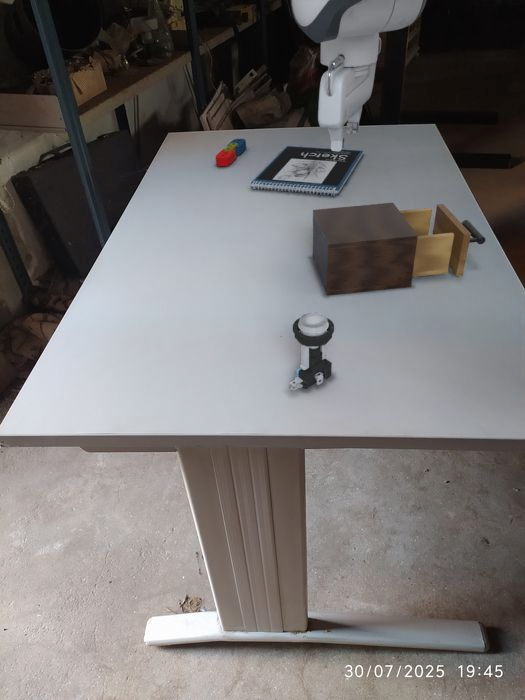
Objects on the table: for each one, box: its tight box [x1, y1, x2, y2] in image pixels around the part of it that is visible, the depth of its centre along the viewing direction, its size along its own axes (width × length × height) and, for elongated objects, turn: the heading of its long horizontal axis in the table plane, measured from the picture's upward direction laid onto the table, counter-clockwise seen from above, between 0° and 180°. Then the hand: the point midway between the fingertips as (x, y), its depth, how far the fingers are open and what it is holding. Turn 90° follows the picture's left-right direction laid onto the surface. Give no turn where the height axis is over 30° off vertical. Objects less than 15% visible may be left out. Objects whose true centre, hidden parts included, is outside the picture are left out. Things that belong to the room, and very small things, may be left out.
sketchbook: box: [250, 145, 364, 197], centre depth 138 cm, size 22×30×2 cm
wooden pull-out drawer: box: [399, 203, 487, 278], centre depth 95 cm, size 18×12×8 cm
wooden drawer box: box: [312, 202, 418, 296], centre depth 94 cm, size 15×14×10 cm
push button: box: [289, 311, 335, 392], centre depth 71 cm, size 7×5×10 cm
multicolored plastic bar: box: [215, 138, 247, 167], centre depth 149 cm, size 17×4×3 cm, turn 163°
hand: (345, 141), depth 92 cm, fingers open, 8 cm apart
